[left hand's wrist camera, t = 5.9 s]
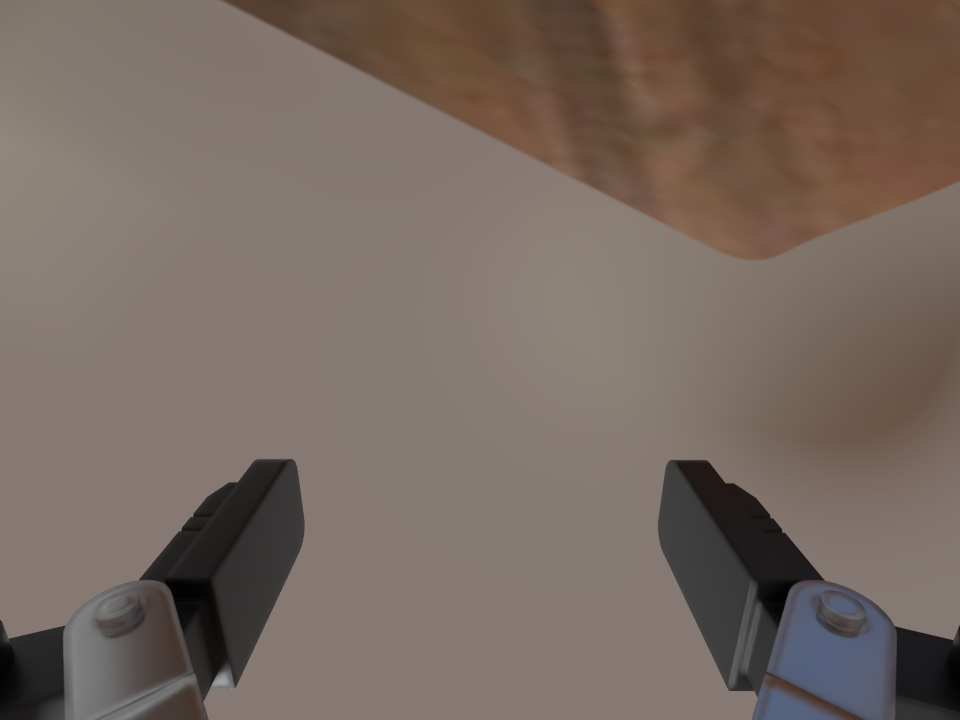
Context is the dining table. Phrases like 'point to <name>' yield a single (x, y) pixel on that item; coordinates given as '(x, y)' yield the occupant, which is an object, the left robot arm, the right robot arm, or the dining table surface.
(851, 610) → the left robot arm
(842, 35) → the dining table surface
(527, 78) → the dining table surface
